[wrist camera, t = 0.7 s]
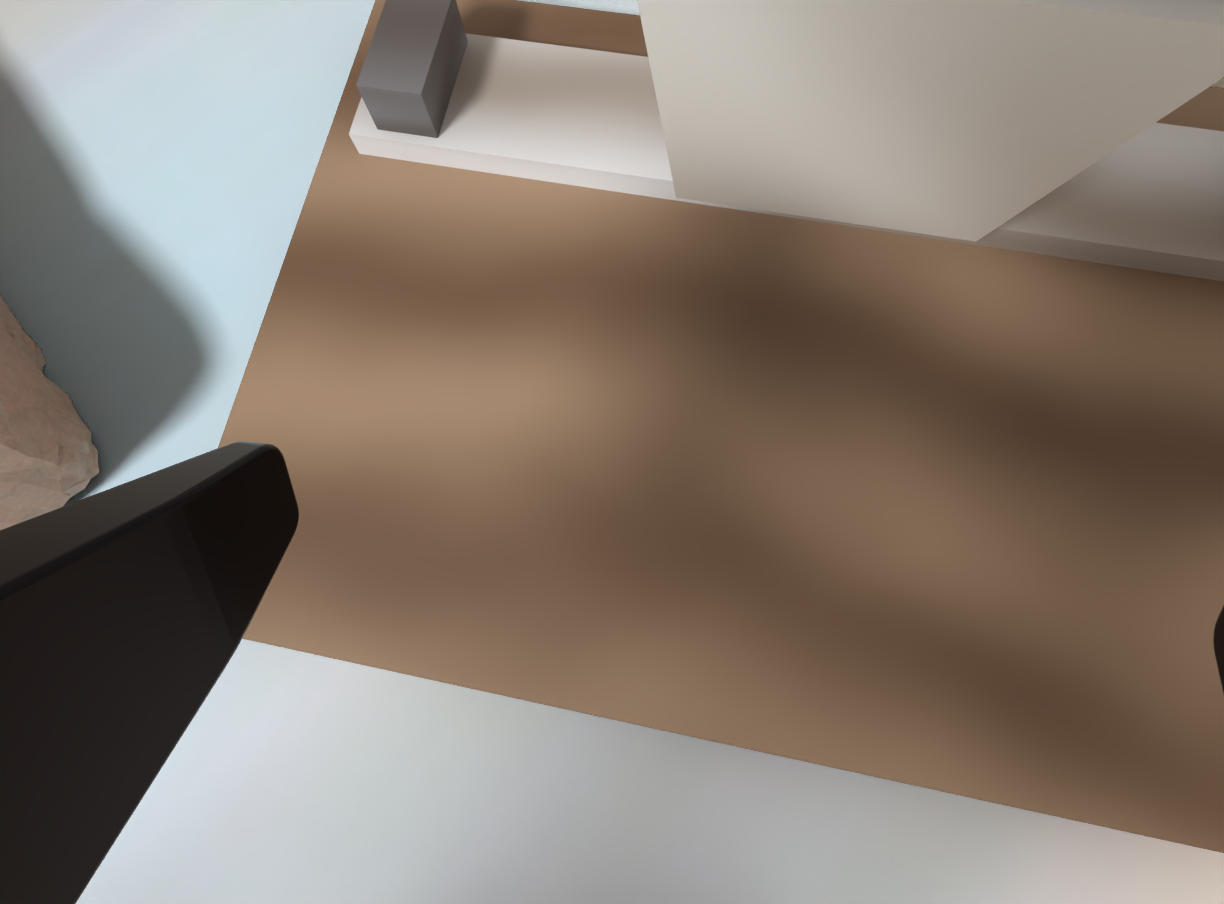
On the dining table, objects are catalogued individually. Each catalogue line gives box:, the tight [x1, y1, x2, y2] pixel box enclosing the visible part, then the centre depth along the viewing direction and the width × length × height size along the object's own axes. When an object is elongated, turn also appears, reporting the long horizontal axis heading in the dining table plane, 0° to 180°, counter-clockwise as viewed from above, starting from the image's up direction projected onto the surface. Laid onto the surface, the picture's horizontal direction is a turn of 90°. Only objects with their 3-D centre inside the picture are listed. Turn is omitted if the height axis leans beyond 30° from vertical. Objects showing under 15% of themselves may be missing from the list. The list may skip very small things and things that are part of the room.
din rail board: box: [218, 0, 1224, 853], centre depth 20 cm, size 18×26×4 cm
